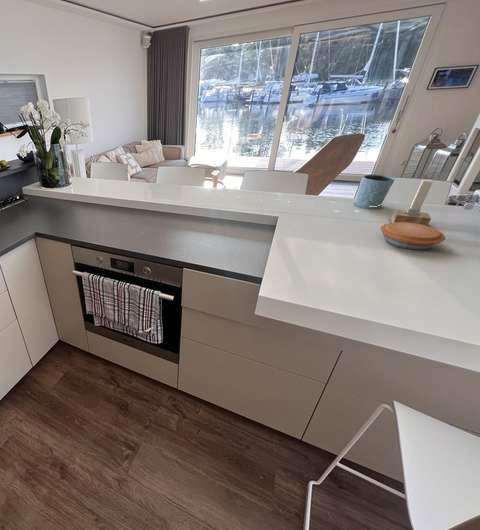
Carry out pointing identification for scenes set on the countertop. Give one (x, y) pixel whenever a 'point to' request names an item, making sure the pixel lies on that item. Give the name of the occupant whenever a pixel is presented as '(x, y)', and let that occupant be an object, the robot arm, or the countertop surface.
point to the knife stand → (411, 217)
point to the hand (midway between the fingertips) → (460, 201)
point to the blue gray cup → (373, 190)
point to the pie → (411, 235)
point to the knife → (420, 197)
